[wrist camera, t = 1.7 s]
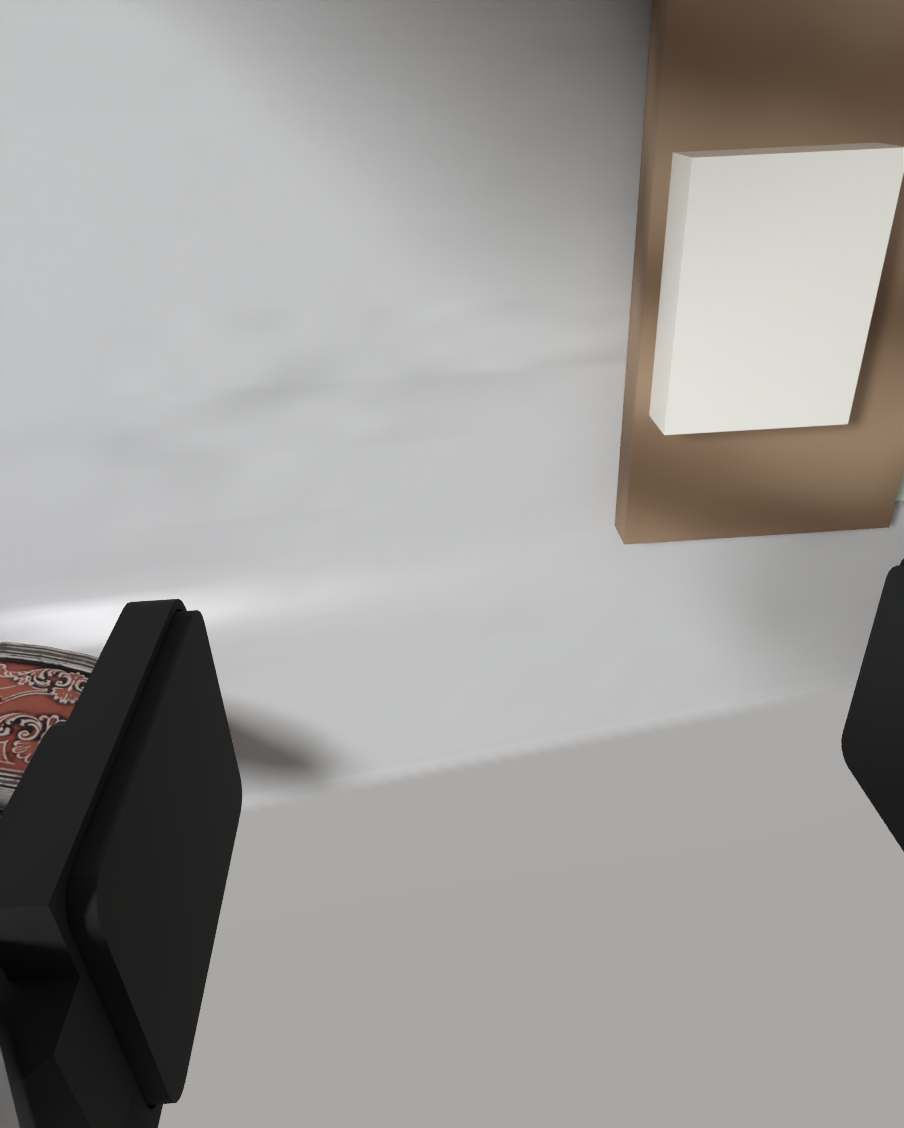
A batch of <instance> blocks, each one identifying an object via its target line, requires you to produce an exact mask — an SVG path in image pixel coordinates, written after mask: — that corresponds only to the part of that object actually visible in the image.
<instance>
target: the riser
mask: <svg viewBox="0 0 904 1128" xmlns="http://www.w3.org/2000/svg"><path fill="white" fill-rule="evenodd" d="M857 143H883V144H890V145H897V146H904V0H653V5H652V19H651V33H650V47H649V61H648V74H647V88H646V102H645V116H644V130H643V143H642V157H641V171H640V185H639V199H638V213H637V226H636V240H635V254H634V268H633V282H632V295H631V309H630V323H629V337H628V351H627V365H626V378H625V392H624V406H623V420H622V434H621V447H620V461H619V475H618V489H617V503H616V516H615V527H616V529H617V531H618V533H619V535H620V537H621V539H622V541H623V543H624V544H638V543H653V542H669V541H684V540H700V539H715V538H731V537H746V536H762V535H777V534H793V533H808V532H824V531H839V530H855V529H870V528H886V527H889V524H890V520H891V516H892V513H893V509H894V505H895V502H896V498H897V494H898V490H899V487H900V483H901V479H902V475H903V472H904V174H903V178H902V183H901V187H900V192H899V196H898V201H897V205H896V210H895V214H894V219H893V223H892V228H891V232H890V237H889V241H888V246H887V250H886V255H885V259H884V264H883V268H882V273H881V277H880V282H879V286H878V291H877V295H876V300H875V304H874V309H873V313H872V318H871V322H870V327H869V331H868V336H867V340H866V345H865V349H864V354H863V358H862V363H861V367H860V372H859V376H858V381H857V385H856V390H855V394H854V399H853V403H852V408H851V412H850V417H849V421H848V424H843V425H826V426H810V427H793V428H776V429H760V430H743V431H726V432H710V433H693V434H676V435H664V434H663V433H662V432H661V430H660V429H659V428H658V426H657V425H656V424H655V422H654V421H653V420H652V418H651V417H650V416H649V411H650V400H651V389H652V378H653V367H654V356H655V344H656V333H657V322H658V311H659V300H660V289H661V278H662V266H663V255H664V244H665V233H666V222H667V211H668V200H669V188H670V177H671V166H672V155H673V152H692V151H712V150H733V149H754V148H774V147H795V146H816V145H837V144H857Z"/></svg>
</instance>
